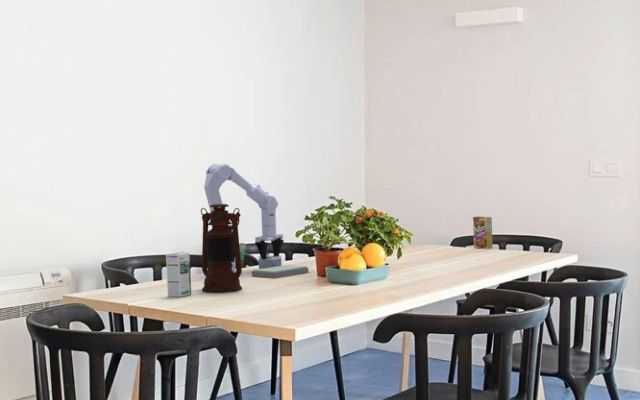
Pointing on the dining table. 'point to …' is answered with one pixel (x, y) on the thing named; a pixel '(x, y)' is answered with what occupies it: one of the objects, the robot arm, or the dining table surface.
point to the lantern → (221, 250)
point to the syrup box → (178, 274)
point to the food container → (241, 254)
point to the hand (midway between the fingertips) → (270, 258)
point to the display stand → (280, 271)
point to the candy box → (482, 232)
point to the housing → (269, 261)
